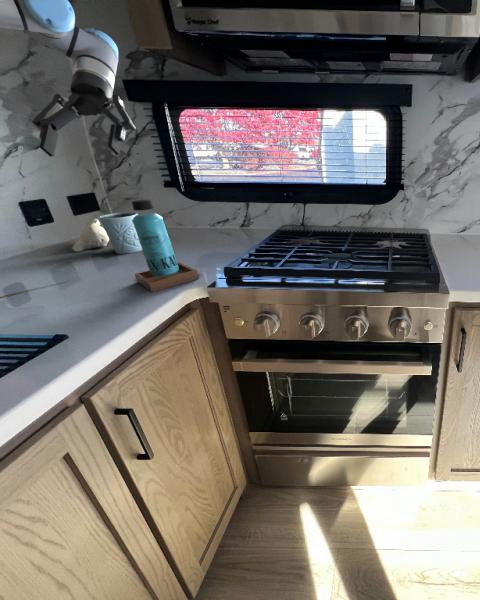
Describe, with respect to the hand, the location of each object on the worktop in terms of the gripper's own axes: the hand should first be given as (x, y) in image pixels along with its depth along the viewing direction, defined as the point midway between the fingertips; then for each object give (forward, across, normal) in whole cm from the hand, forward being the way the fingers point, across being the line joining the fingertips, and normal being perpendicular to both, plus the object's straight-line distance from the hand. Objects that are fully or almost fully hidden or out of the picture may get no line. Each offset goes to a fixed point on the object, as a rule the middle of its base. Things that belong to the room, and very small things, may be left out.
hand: (80, 151), depth 77 cm
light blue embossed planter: (+1, +14, -44) cm, 46 cm away
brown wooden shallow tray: (+25, -11, -19) cm, 34 cm away
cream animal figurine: (-5, +30, -50) cm, 58 cm away
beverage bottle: (+25, -11, -19) cm, 33 cm away
